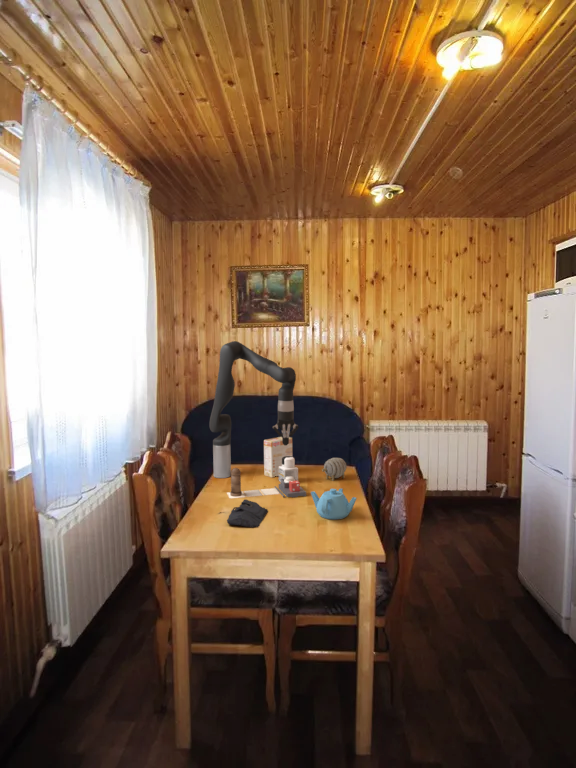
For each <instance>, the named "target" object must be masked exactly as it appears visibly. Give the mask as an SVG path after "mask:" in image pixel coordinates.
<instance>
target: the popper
mask: <svg viewBox="0 0 576 768" xmlns="http://www.w3.org/2000/svg"><path fill="white" fill-rule="evenodd" d="M294 479H295V478H294ZM278 489H279V491H280V492H281V493H282V494H283V495H284V494H285V495H286V496H287V497H292V498H299V497H298V496H303V497H307V491H306V490H305V489H304V488H303V487H302V486H301V483H300V481H299V479H298V480H296V479H295V481H289V483H285V482H284V479H281V482H280V483H278ZM285 495H284V496H285ZM286 496H285V497H286ZM287 497H286V498H287Z"/></svg>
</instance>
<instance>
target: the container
mask: <svg viewBox="0 0 576 768" xmlns="http://www.w3.org/2000/svg"><path fill="white" fill-rule="evenodd" d="M295 462H296V460H295V457H294V456H293V455H292V456H285V457H283V458H282V466H279V476H278V481H279V482H280V483H281V479H286V477H287V476H292V477H294V478H295V479H296V480H298V481H299V468H298V467H297V466H295Z"/></svg>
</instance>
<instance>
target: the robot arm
mask: <svg viewBox="0 0 576 768" xmlns="http://www.w3.org/2000/svg"><path fill="white" fill-rule="evenodd" d="M240 359H241V360H242V361H243V360H244V361H247V362H248V363H250V364H251V365H252V366H253V367H254V369H255V370H257V371H259V372H261V373H262V374H265V375H267V376H269V377H270V378H271V379H273V380H275V382H278V383H281V387H280V388H279V389H278V397H277V399H278V401H277V420H276V424H275V425H272V429H273V430H274V431H275V433H277V435H278V437H282V443H283V444H284V445H287V444H289V437H290V438H291V437H293V436H294V435H295V433H296V432H297V430H298V429H299V425H298V424H296V422H295V421H294V419H295V418H294V410H295V407H294V406H295V405H294V389H295V384H296V380H297V379H296V378H297V376H296V375H297V374H296V371H295V369H293V368H292V367H290V366H288V367H281V366H279V365H278V363H277V362H276V361H274V360H272V359H269V358H267V357H264V356H262V355H260V354H258V353H257V352H255V351H253V350H252V349H250V348H249V347H247V346H246V345H244V344H243V343H242V342H239V341H238V340H237V341H236V340H233V341H230V342H227V343H225V344H223V345H222V346H221V348H220V351H219V365H218V373H217V374H218V375H217V380H216V385H215V392H214V393H215V395H214V399H213V406H212V409H211V413H210V417H209V423H208V424H209V429H210V431H211V432H212V433H220V435H218V436H216V437H215V438H214V439H213V440H212V455H213V456H212V457H213V459H212V460H213V462H212V465H213V469H212V470H213V477H214V478H217V479H225V478H229V477H230V478H231V471H232V463H231V462H232V461H231V460H232V459H231V458H232V457H231V453H232V452H231V439H232V419H231V416H230V414H226V413H224V414H223V413H222V411H223V409H224V408H225V407H226V406H227V405H228V404H229V403H230V401H232V399H233V397H234V393H235V386H236V383H235V379H234V377H233V373H232V372H233V371H232V370H233V365H234V362H235V361H237V360H240ZM278 429H280V430H281V432H280V430H278ZM291 429H292V430H291ZM290 430H291V431H290Z"/></svg>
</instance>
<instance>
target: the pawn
mask: <svg viewBox="0 0 576 768" xmlns="http://www.w3.org/2000/svg"><path fill="white" fill-rule="evenodd" d="M241 479H242V475H241V469H240V468H238V467H233V468H231V476H230V486H231V487H230V488H231V489H230V495H231V496H235V497H236V496H241V495H242V492H243V491H242V487H241V486H242V483H241V482H242V481H241ZM241 491H242V492H241Z"/></svg>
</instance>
